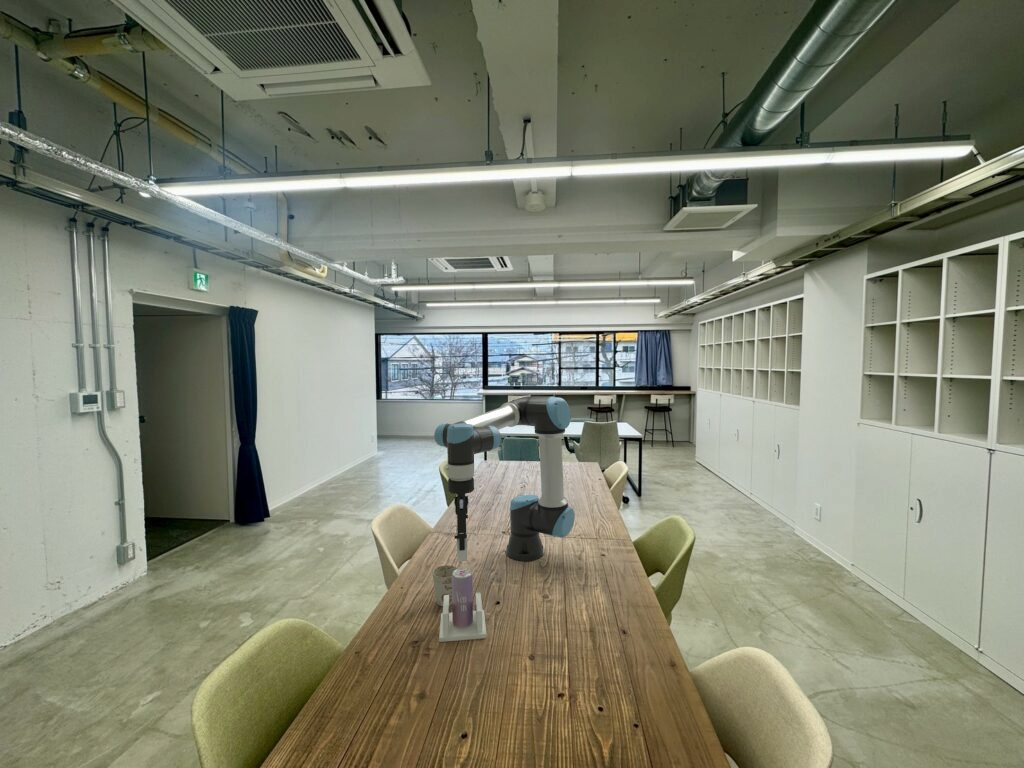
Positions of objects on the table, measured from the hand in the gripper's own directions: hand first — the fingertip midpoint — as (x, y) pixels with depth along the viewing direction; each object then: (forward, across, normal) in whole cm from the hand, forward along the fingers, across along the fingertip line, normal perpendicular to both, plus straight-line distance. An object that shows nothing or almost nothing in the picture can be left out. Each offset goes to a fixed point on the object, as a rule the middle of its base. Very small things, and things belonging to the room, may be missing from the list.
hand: (462, 550), depth 123 cm
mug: (+23, -17, -6) cm, 29 cm away
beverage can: (+22, 0, 0) cm, 22 cm away
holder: (+23, 0, 0) cm, 23 cm away
